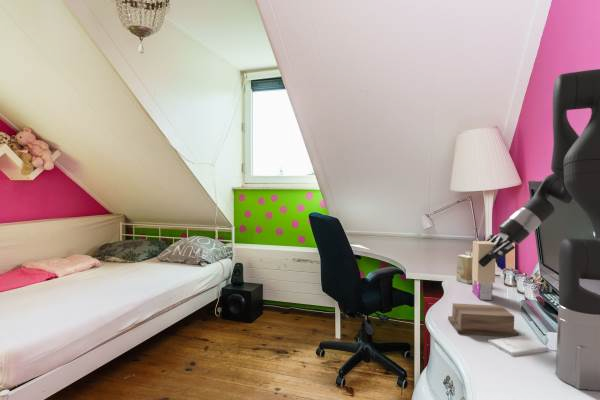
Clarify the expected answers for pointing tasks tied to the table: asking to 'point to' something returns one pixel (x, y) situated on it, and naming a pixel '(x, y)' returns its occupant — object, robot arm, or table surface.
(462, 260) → the skincare box
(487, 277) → the tan carton
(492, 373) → the table surface
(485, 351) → the table surface
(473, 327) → the podium
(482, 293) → the candy bar box
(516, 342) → the external hard drive
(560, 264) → the robot arm
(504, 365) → the table surface
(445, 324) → the table surface
